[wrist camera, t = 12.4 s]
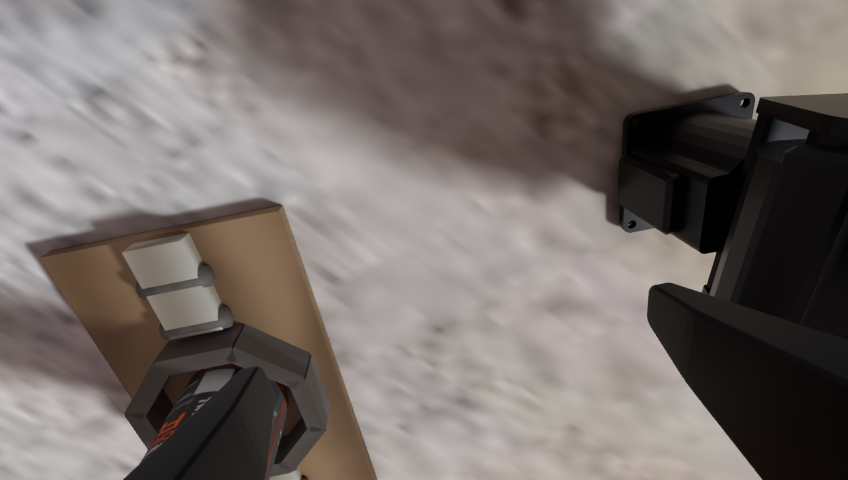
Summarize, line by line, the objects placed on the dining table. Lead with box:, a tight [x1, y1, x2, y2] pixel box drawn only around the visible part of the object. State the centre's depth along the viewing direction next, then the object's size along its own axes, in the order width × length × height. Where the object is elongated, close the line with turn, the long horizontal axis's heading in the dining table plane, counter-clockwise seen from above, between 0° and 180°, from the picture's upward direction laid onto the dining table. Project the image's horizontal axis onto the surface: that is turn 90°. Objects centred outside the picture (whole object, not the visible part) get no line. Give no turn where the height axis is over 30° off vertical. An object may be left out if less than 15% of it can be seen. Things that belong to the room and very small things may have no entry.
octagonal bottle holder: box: [39, 205, 377, 480], centre depth 24 cm, size 12×22×3 cm, turn 9°
